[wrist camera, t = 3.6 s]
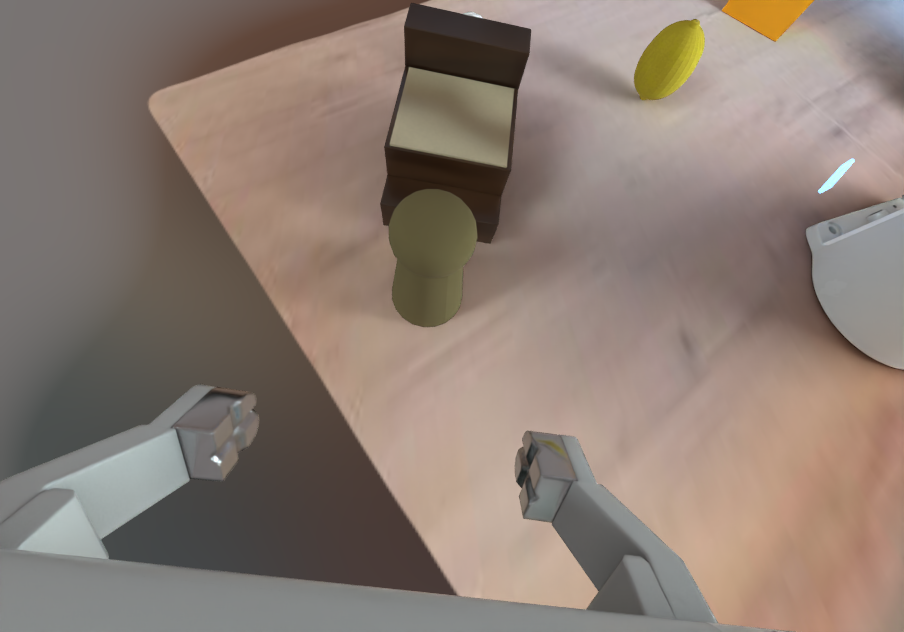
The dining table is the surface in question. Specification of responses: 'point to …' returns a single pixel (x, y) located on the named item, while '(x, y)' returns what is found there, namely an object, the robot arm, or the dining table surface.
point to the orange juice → (767, 14)
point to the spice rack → (455, 111)
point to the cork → (430, 255)
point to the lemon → (669, 59)
